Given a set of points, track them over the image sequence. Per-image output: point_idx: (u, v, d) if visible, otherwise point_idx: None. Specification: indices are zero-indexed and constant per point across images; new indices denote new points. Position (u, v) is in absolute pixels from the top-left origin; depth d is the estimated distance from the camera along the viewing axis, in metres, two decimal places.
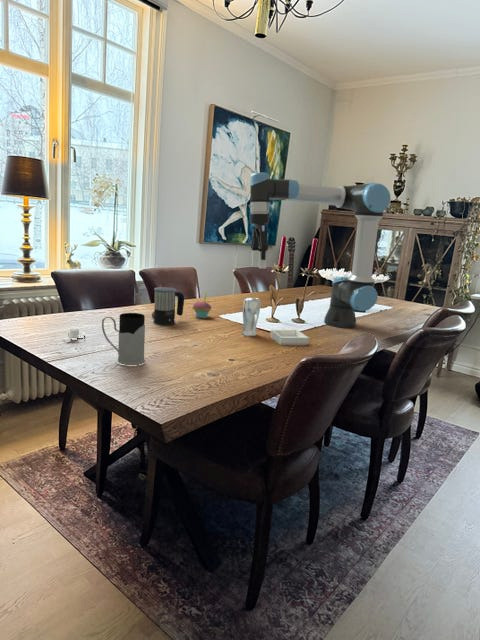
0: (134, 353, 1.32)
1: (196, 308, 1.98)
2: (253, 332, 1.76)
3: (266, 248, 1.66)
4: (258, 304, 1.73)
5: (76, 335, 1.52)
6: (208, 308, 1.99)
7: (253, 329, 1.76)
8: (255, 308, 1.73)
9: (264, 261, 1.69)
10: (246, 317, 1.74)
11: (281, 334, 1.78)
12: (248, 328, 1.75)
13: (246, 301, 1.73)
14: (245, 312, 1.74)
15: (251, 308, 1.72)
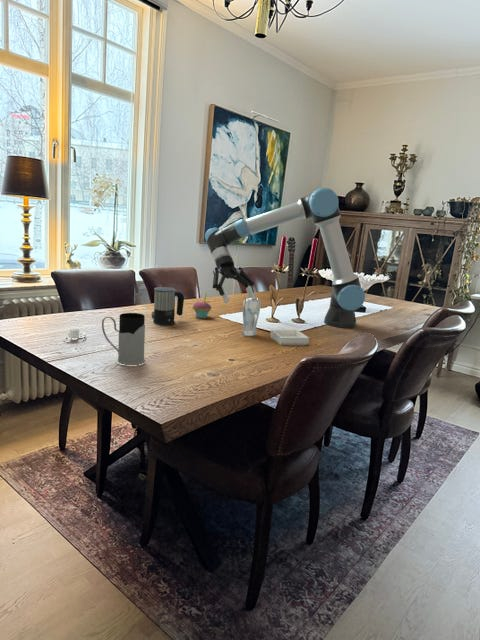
0: (134, 353, 1.32)
1: (196, 308, 1.98)
2: (253, 332, 1.76)
3: (214, 285, 1.77)
4: (258, 304, 1.73)
5: (76, 335, 1.52)
6: (208, 308, 1.99)
7: (253, 329, 1.76)
8: (255, 308, 1.73)
9: (224, 295, 1.76)
10: (246, 317, 1.74)
11: (281, 334, 1.78)
12: (248, 328, 1.75)
13: (246, 301, 1.73)
14: (245, 312, 1.74)
15: (251, 308, 1.72)
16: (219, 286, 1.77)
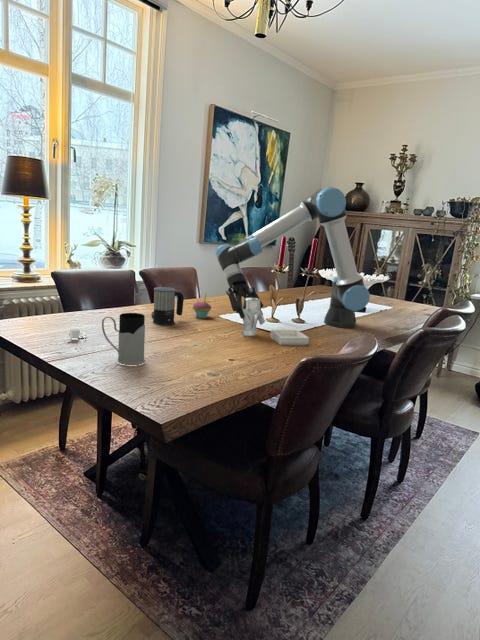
0: (134, 353, 1.32)
1: (196, 308, 1.98)
2: (253, 332, 1.76)
3: (235, 308, 1.73)
4: (258, 304, 1.73)
5: (77, 335, 1.52)
6: (208, 308, 1.99)
7: (253, 329, 1.76)
8: (255, 308, 1.73)
9: (245, 318, 1.72)
10: None
11: (281, 334, 1.78)
12: (248, 328, 1.75)
13: (246, 301, 1.73)
14: None
15: (251, 308, 1.72)
16: (239, 309, 1.73)
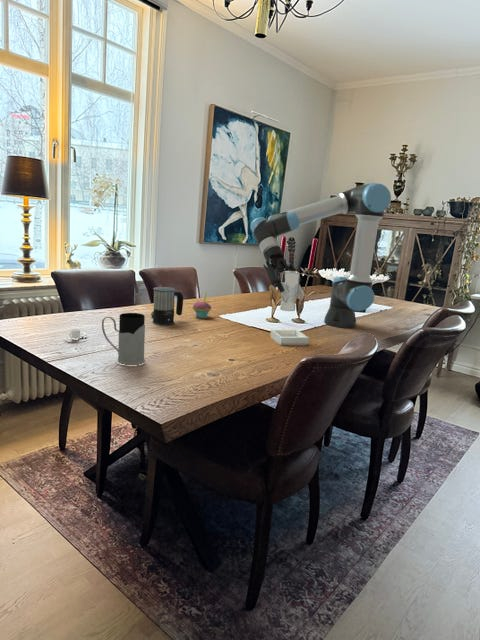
0: (134, 353, 1.32)
1: (196, 308, 1.98)
2: (292, 306, 1.69)
3: (274, 281, 1.66)
4: (298, 277, 1.66)
5: (77, 335, 1.52)
6: (208, 308, 1.99)
7: (292, 303, 1.69)
8: (295, 281, 1.66)
9: (285, 291, 1.66)
10: None
11: (281, 334, 1.78)
12: (287, 302, 1.68)
13: (285, 274, 1.66)
14: None
15: (290, 281, 1.66)
16: (278, 282, 1.66)
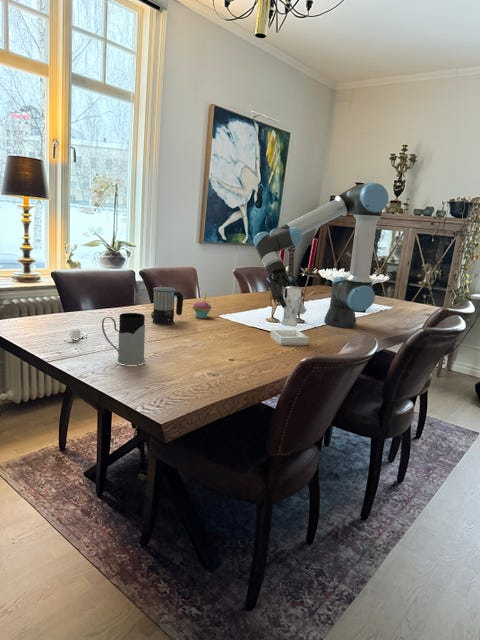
0: (134, 353, 1.32)
1: (196, 308, 1.98)
2: (294, 322, 1.70)
3: (276, 296, 1.67)
4: (300, 293, 1.67)
5: (78, 335, 1.52)
6: (208, 308, 1.99)
7: (294, 319, 1.70)
8: (297, 297, 1.67)
9: (287, 307, 1.67)
10: None
11: (281, 334, 1.78)
12: (289, 317, 1.69)
13: (288, 289, 1.67)
14: None
15: (293, 297, 1.67)
16: (281, 297, 1.67)
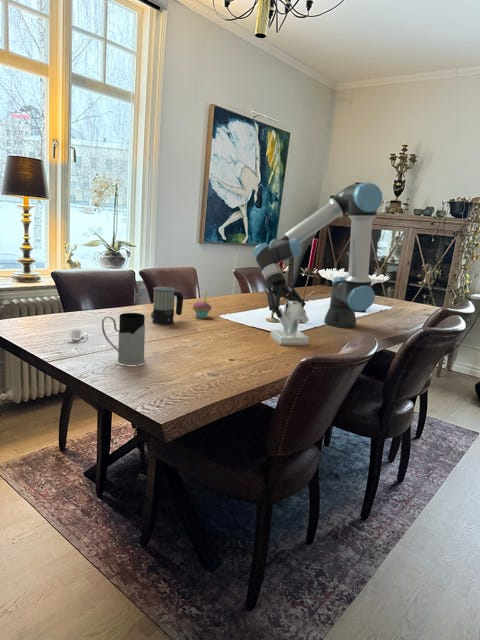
0: (134, 353, 1.32)
1: (196, 308, 1.98)
2: (294, 336, 1.71)
3: (272, 307, 1.67)
4: (300, 308, 1.69)
5: (78, 335, 1.52)
6: (208, 308, 1.99)
7: (294, 333, 1.71)
8: (297, 312, 1.68)
9: (282, 317, 1.67)
10: None
11: (281, 334, 1.78)
12: (289, 332, 1.71)
13: (288, 304, 1.68)
14: (286, 316, 1.69)
15: (292, 312, 1.68)
16: (276, 308, 1.68)
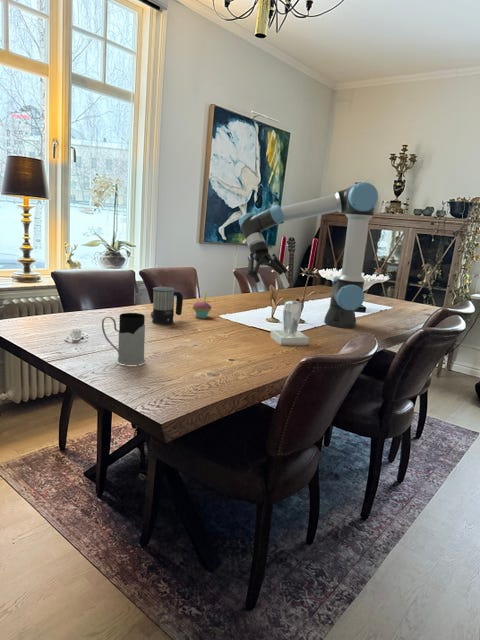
0: (134, 353, 1.32)
1: (196, 308, 1.98)
2: (294, 336, 1.71)
3: (250, 271, 1.76)
4: (300, 308, 1.69)
5: (78, 335, 1.52)
6: (208, 308, 1.99)
7: (294, 333, 1.71)
8: (297, 312, 1.68)
9: (260, 282, 1.76)
10: (287, 321, 1.70)
11: (281, 334, 1.78)
12: (289, 332, 1.71)
13: (288, 304, 1.68)
14: (286, 316, 1.69)
15: (292, 312, 1.68)
16: (254, 273, 1.77)
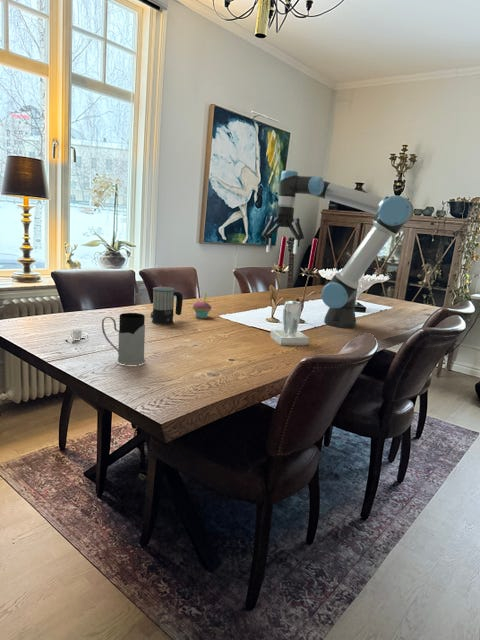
0: (134, 353, 1.32)
1: (196, 308, 1.98)
2: (294, 336, 1.71)
3: (263, 234, 1.98)
4: (300, 308, 1.69)
5: (79, 335, 1.52)
6: (208, 308, 1.99)
7: (294, 333, 1.71)
8: (297, 312, 1.68)
9: (268, 246, 2.00)
10: (287, 321, 1.70)
11: (281, 334, 1.78)
12: (289, 332, 1.71)
13: (287, 304, 1.68)
14: (286, 316, 1.69)
15: (292, 312, 1.68)
16: (266, 237, 1.98)
